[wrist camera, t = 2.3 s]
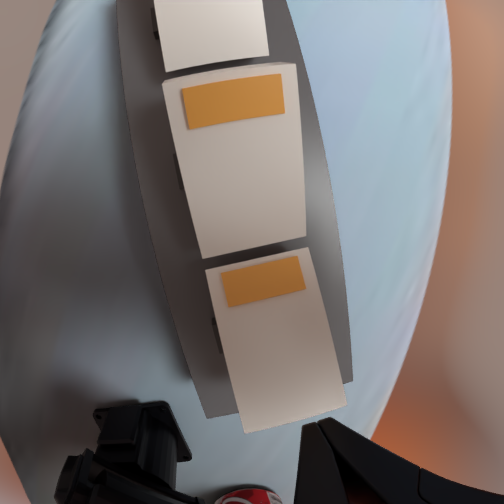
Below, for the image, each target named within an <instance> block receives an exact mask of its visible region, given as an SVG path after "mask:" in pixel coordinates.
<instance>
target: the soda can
mask: <svg viewBox="0 0 504 504" xmlns="http://www.w3.org/2000/svg"><path fill="white" fill-rule="evenodd" d="M214 504H282V501H281V499H280V497H279V496H278V495H277V494H275V493H273V492H270V491H267V490H261V489H255V488H246V489H240V490H236V491H233V492H230V493H228V494H226V495H224V496H222V497H220V498H219V499H218V500H217V501H216V502H215V503H214Z"/></svg>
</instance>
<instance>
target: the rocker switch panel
mask: <svg viewBox="0 0 504 504" xmlns="http://www.w3.org/2000/svg"><path fill="white" fill-rule="evenodd" d="M262 3H263V11H264V18H265V26H266V33H267V41H268V49H269V56H260V57H251V58H243V59H235V60H228V61H222V62H215V63H209V64H204V65H198V66H193V67H188V68H183V69H178V70H174V71H169V72H166V70H165V65H164V59H163V54H162V48H161V42H160V36H159V30H158V24H157V18H156V12H155V6H154V0H116V7H117V24H118V38H119V50H120V60H121V70H122V79H123V87H124V95H125V103H126V110H127V117H128V123H129V130H130V136H131V142H132V148H133V154H134V159H135V165H136V170H137V175H138V180H139V185H140V190H141V195H142V200H143V205H144V209H145V214H146V218H147V223H148V227H149V231H150V236H151V240H152V244H153V248H154V252H155V256H156V260H157V264H158V268H159V272H160V275H161V279H162V283H163V286H164V290H165V294H166V297H167V301H168V304H169V308H170V311H171V314H172V318H173V321H174V324H175V328H176V331H177V334H178V337H179V340H180V344H181V347H182V350H183V353H184V356H185V359H186V362H187V365H188V368H189V371H190V374H191V377H192V380H193V382H194V385H195V388H196V391H197V394H198V396H199V399H200V402H201V405H202V407H203V410H204V413H205V415H206V418H207V419H208V418H214V417H219V416H224V415H230V414H234V413H239V411H238V407H237V403H236V399H235V395H234V391H233V388H232V384H231V380H230V376H229V372H228V368H227V364H226V360H225V356H224V351H223V347H222V343H221V339H220V335H219V330H218V326H217V322H216V317H215V313H214V308H213V304H212V299H211V295H210V290H209V286H208V281H207V276H206V272H205V270H207V269H212V268H216V267H221V266H225V265H230V264H234V263H239V262H243V261H248V260H252V259H257V258H261V257H266V256H270V255H275V254H279V253H284V252H288V251H292V250H297V249H301V248H306V247H308V248H309V252H310V255H311V259H312V262H313V266H314V270H315V273H316V277H317V281H318V284H319V288H320V292H321V296H322V300H323V304H324V307H325V311H326V315H327V319H328V323H329V327H330V331H331V335H332V340H333V344H334V348H335V352H336V356H337V361H338V365H339V370H340V374H341V378H342V383H343V384H345V383H348V382H351V381H353V371H352V354H351V340H350V327H349V316H348V305H347V295H346V286H345V277H344V269H343V261H342V253H341V245H340V238H339V231H338V224H337V218H336V211H335V205H334V199H333V193H332V187H331V182H330V176H329V171H328V165H327V160H326V155H325V150H324V145H323V140H322V135H321V131H320V126H319V122H318V117H317V113H316V108H315V104H314V100H313V95H312V91H311V87H310V83H309V79H308V75H307V71H306V68H305V64H304V60H303V56H302V53H301V49H300V46H299V42H298V38H297V35H296V32H295V28H294V25H293V22H292V18H291V15H290V12H289V9H288V6H287V2H286V0H262ZM274 62H286V63H294V64H296V70H297V81H298V92H299V104H300V117H301V131H302V147H303V164H304V183H305V207H306V236H304V237H300V238H295V239H291V240H286V241H282V242H277V243H272V244H268V245H263V246H259V247H254V248H250V249H245V250H241V251H236V252H232V253H227V254H222V255H218V256H213V257H209V258H204V259H202V255H201V251H200V247H199V244H198V240H197V236H196V232H195V228H194V224H193V220H192V216H191V212H190V208H189V204H188V200H187V196H186V192H185V188H184V184H183V179H182V175H181V171H180V167H179V162H178V158H177V153H176V149H175V144H174V140H173V135H172V131H171V126H170V121H169V117H168V112H167V107H166V102H165V97H164V92H163V87H162V83H163V82H164V81H165V80H168V79H173V78H177V77H182V76H186V75H191V74H196V73H202V72H207V71H213V70H219V69H225V68H232V67H239V66H246V65H255V64H264V63H274Z"/></svg>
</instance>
